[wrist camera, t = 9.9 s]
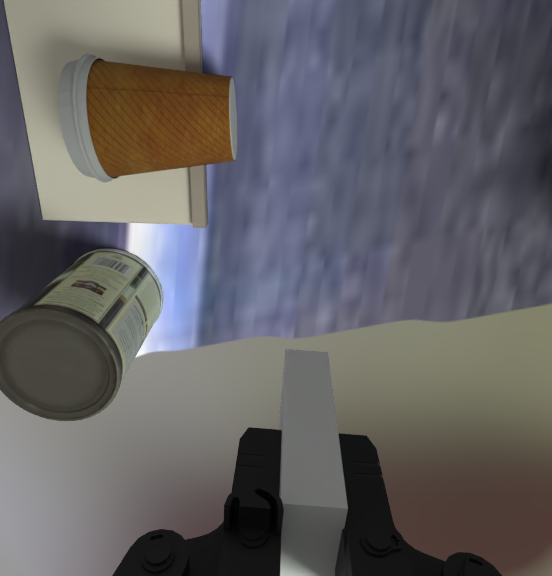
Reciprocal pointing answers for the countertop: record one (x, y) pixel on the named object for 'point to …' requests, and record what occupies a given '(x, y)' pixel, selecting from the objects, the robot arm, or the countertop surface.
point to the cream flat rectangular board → (114, 48)
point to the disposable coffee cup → (144, 118)
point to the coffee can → (79, 336)
